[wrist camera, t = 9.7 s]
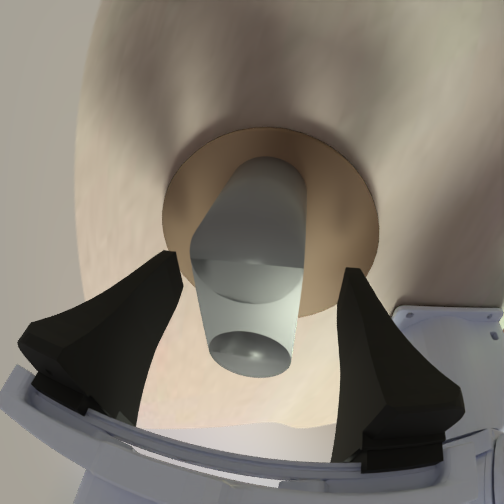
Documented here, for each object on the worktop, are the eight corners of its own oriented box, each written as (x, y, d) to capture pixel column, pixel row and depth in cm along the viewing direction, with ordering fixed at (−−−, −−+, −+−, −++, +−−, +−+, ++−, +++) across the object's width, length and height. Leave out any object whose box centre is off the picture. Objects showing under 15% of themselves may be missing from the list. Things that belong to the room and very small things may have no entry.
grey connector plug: (226, 155, 12) (181, 207, 8) (309, 158, 11) (309, 215, 7) (238, 324, 18) (219, 392, 14) (292, 331, 18) (284, 401, 14)
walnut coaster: (393, 139, 11) (398, 143, 10) (353, 316, 17) (354, 326, 17) (154, 130, 12) (146, 134, 12) (185, 298, 19) (181, 306, 18)
